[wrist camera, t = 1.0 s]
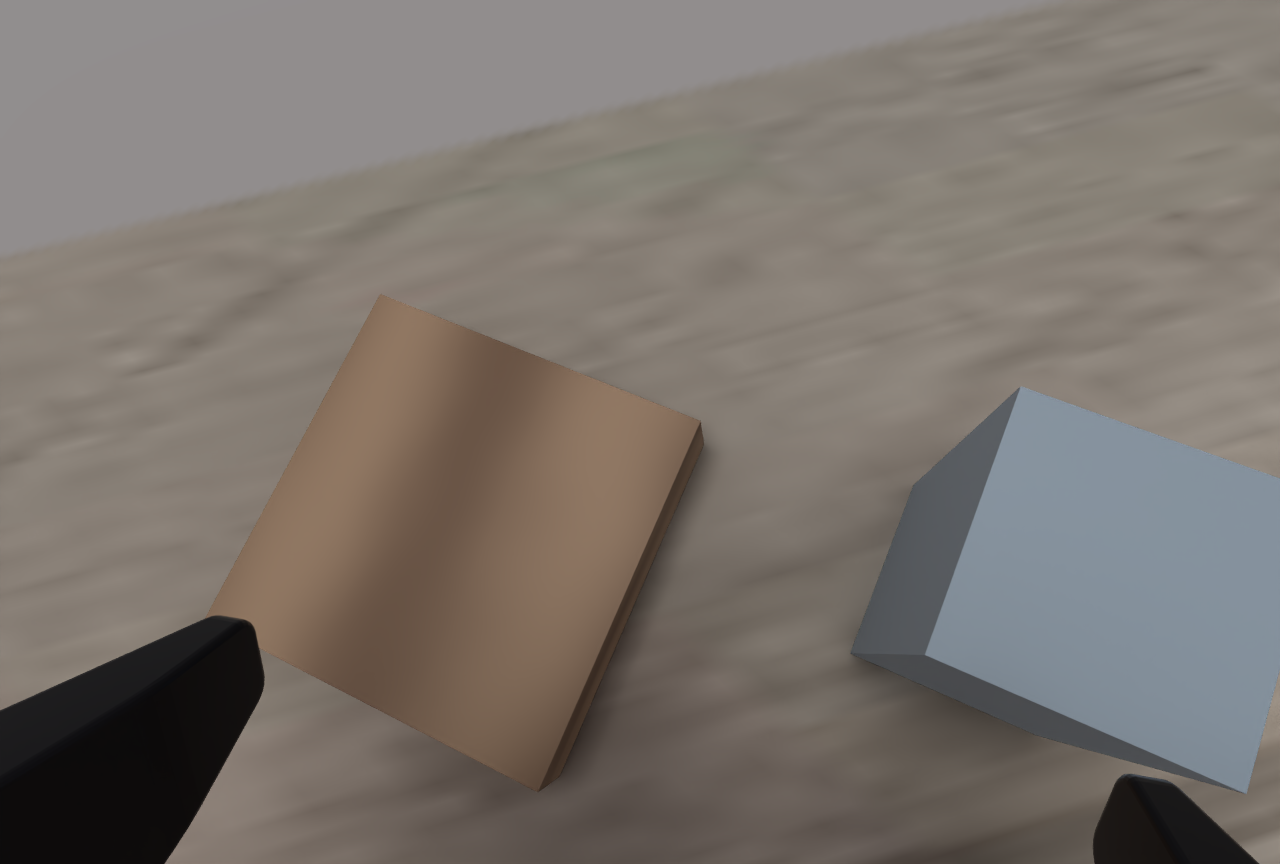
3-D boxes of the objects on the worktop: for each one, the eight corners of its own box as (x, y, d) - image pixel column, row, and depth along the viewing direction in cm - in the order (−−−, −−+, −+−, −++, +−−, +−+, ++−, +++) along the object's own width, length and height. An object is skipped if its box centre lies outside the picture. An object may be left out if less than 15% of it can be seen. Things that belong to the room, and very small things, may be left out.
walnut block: (704, 448, 24) (700, 420, 22) (562, 774, 23) (537, 792, 20) (418, 332, 26) (379, 294, 24) (266, 623, 25) (203, 619, 22)
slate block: (1094, 556, 22) (1326, 495, 13) (1036, 735, 21) (1246, 794, 12) (913, 485, 23) (1020, 386, 14) (850, 653, 22) (924, 654, 13)
